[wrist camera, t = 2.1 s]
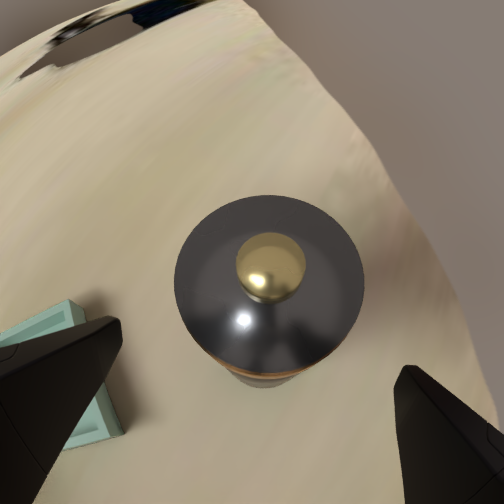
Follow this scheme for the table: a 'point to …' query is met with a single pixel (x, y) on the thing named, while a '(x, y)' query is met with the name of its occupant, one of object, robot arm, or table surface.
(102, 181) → the table surface
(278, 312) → the lidded jar
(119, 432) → the tray
